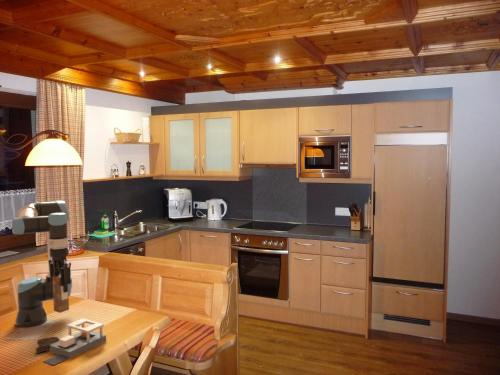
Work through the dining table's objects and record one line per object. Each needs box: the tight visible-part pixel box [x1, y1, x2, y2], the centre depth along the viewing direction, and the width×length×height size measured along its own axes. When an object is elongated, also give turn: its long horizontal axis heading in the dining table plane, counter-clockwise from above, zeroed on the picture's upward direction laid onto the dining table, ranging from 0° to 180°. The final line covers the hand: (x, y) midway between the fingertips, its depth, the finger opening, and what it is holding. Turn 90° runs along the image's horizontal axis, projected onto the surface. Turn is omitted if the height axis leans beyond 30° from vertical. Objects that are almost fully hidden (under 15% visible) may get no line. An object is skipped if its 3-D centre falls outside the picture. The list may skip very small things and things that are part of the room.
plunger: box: [80, 325, 90, 337], centre depth 198 cm, size 4×4×4 cm
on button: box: [59, 334, 75, 348], centre depth 189 cm, size 4×5×3 cm
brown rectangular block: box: [52, 274, 70, 313], centre depth 188 cm, size 4×4×16 cm
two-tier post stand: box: [49, 318, 107, 359], centre depth 194 cm, size 15×20×9 cm
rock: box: [35, 336, 60, 354], centre depth 193 cm, size 11×10×4 cm
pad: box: [43, 354, 69, 367], centre depth 181 cm, size 7×7×1 cm
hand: (61, 297), depth 189 cm, fingers closed on brown rectangular block, 4 cm apart
